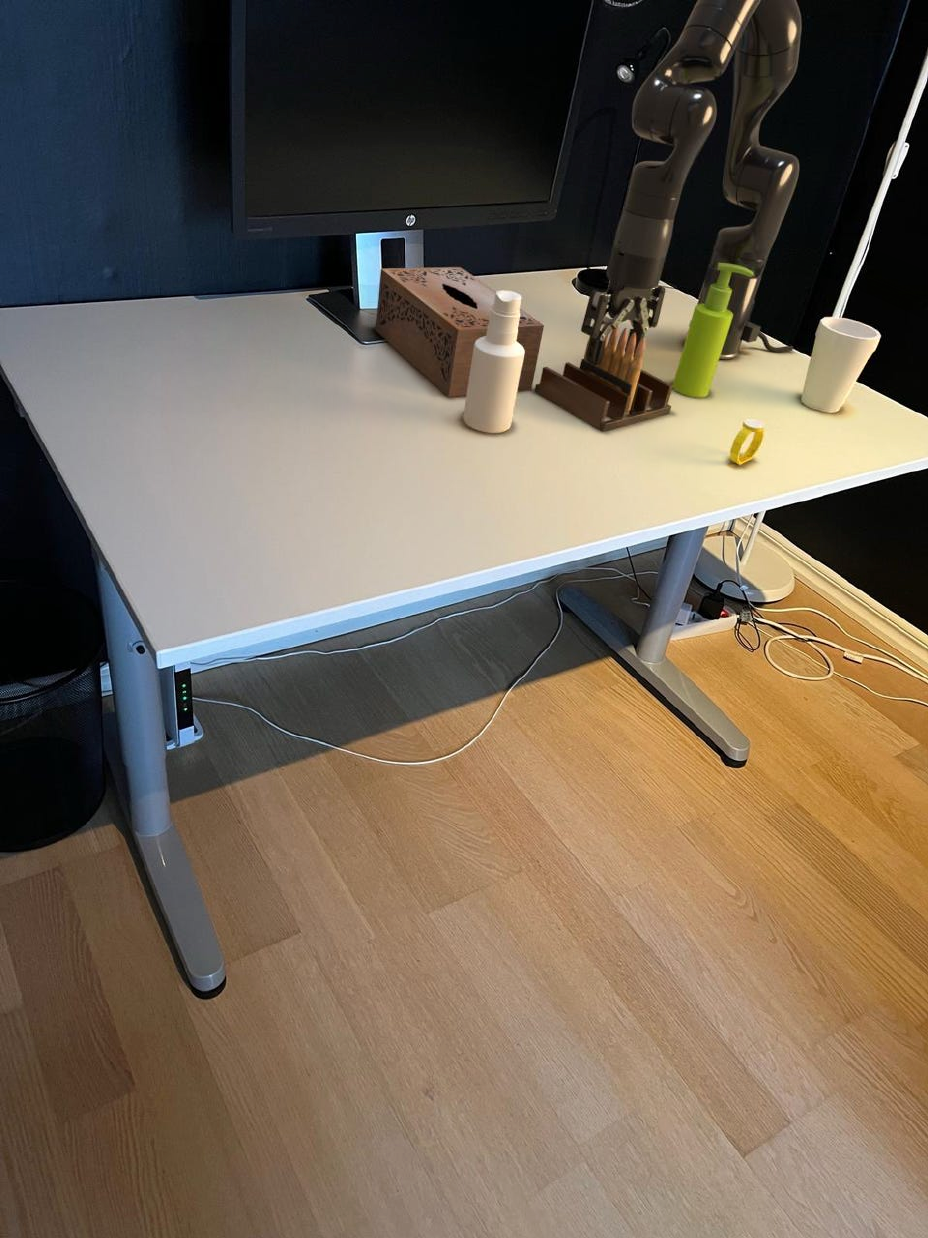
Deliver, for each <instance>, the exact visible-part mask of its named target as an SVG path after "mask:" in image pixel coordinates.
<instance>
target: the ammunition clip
mask: <svg viewBox="0 0 928 1238" xmlns="http://www.w3.org/2000/svg"><path fill="white" fill-rule="evenodd" d="M605 326H606V325H605V324H603V325H602V327H601V329H600V331H602V330H603V328H604V327H605ZM627 329H628V328H626V327H625V328H624V329H623V330H622V331H621V333H620V335H619V326H618V327H617V328H616V329H612V330H611V332H610V333H609V335H608V336H607V337H606V339H605V341H606V343H605V347H604V351H603V355H602V359H601V363H600V364H599V365H593V364H591V363H589V362H588V361H587V358H586V354H587V350H588V345H589V341H590V336H589V338H588V340H587V342H586V346H585V350H584V355H583V358H581V360H580V362H579V368H580V369H582V370H584V371H586V372H588V373H590V374H592V375H593V376H595V377H597V378H599V379H601V380H603V381H604V382H606V383H608V384H610V385H612V386H614V387H616V388H617V389H619V390H621V391H623V392H625V393H627V394H629V395H630V396H631V400H630V404H629V408H628V411H627V415H630V414H633V407H634V403H635V398H636V394H637V390H638V386H639V383H638V379H639V375H640V371H641V370H642V365H643V359H644V353H645V349H646V338H645V336H644V337H642V339H641V340H640V342H639V344H638V346H637V349H636V352H635V355H634V350H635V344H636V333H635V332H634V333H633V334H632V336H631V338H630V340H629V342H628V345H627V348H626V344H627V340H628V330H627ZM618 337H619V339H618ZM625 348H626V351H625ZM633 355H634V357H633Z"/></svg>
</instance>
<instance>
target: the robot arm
mask: <svg viewBox="0 0 928 1238" xmlns="http://www.w3.org/2000/svg"><path fill="white" fill-rule="evenodd" d="M801 37H802V14H801V11H800V7H799V5H798V1H797V0H697V1H696V3H695V5H694V7H693V10H692V11H691V13H690V15H689V17H688V19H687V21H686V24H685V26H684V28H683V29H682V32H681V34H680V36H679V38H678V40H677V41H676V43H675V44H674V46H673V47H672V48H671V49H670V50H669V51H668V53H667V54H666V55H665V57H664V58H663V59H662V60H661V62H659V64H657V66H656V67H655V68H654V70H653V71H652V72H651V73H650V74H649V75H648V77H647V78H646V79H645V81H644V82H643V83H642V85H641V86H640V88H639V89H638V90H637V93H636V95H635V97H634V100H633V103H632V106H631V111H630V123H631V126H632V129H633V131H634V133H635V135H637V136H638V137H640V138H642V139H644V140H649V141H652V142H655V143H660V144H663V145H667V146H671V147H673V148H672V149H673V150H672V152H671V154H670V155H669V156H668V158H666V160H662V161H661V160H659V161H658V160H645V161H640V162H638V163H637V164H635V165H634V167H633V168H632V172H631V175H630V178H629V183H628V187H627V190H626V196H625V199H624V204H623V208H622V211H621V214H620V217H619V219H618V223H617V225H616V230H615V234H614V238H613V242H612V247H611V251H610V255H609V259H608V264H607V268H606V276H607V278H608V281H609V284H608V287H607V289H606V291H605V292H600V291H597V290H595V289H592V291H591V292H590V294H589V298H588V301H587V305H586V309H585V313H584V317H583V320H582V324H581V327H580V332H581V333H583V334H584V335H585V334H586V335H587V336H589V337H590V341H589V345H588V350H587V354H586V358H587V361H588V362H589V363H591V364H593V365H599V364H600V363H601V359H602V355H603V351H604V347H605V343H606V341H605V339H606V337H607V336H608V337H609V336H610V334H611V332H612V329H616V328H617V327H618V328H619V325H620V324H621V323H624V322H626V321H629V322H630V325H631V328H630V329H629V332H628V335H627V341H626V346H625V351H626V348H627V345H628V342H629V340H630V338H631V336H632V334H633V333H634V332H635V333H636V344H635V350H634V355H635V352H636V349H637V346H638V344H639V342H640V340H641V339H642V337H645V335H646V334H647V333H648V332H649V330H650V328H653V329H655V328H656V327H657V326H658V324H659V320H660V316H661V312H662V307H663V304H664V299H665V295H666V287H664V286H662V285H659V283H660V280H661V277H662V273H663V270H664V266H665V262H666V258H667V254H668V251H669V247H670V243H671V239H672V236H673V231H674V229H673V228H674V223H675V222H674V221H675V217H676V213H677V210H678V206H679V203H680V199H681V195H682V191H683V188H684V186H685V184H686V181H687V178H688V176H689V174H690V172H691V170H692V168H693V166H694V164H695V161H696V160H697V158H698V156H699V154H700V152H701V150H702V149H703V148H704V146H705V144H706V142H707V140H708V138H709V136H710V135H711V132H712V131H713V129H714V126H715V124H716V119H717V116H718V115H717V114H718V106H717V105H718V104H717V100H716V98H715V95H714V93H713V92H712V91H710V90H709V89H708V88H705V87H701V86H697V85H693V84H694V83H705V82H710V81H711V82H712V81H716V80H717V79H719V78H720V77H721V76H722V75H723V74H724V73H725V71H726V69H727V67H728V66H729V64H730V62H731V60H732V82H731V83H732V84H731V85H732V86H731V106H730V121H729V129H728V137H727V143H726V144H727V145H726V152H725V160H724V167H723V176H722V190H723V195H724V198H725V199H726V201H728V202H729V203H731V204H733V205H735V206H737V207H741V208H744V209H748V210H751V211H754V212H755V215H754V217H753V219H752V221H751V222H750V223H749V224H745V225H741V226H740V225H739V226H738V225H737V226H727V227H724V228H722V229H720V230H719V231H718V232H717V235H716V237H715V240H714V241H715V242H714V244H713V248H712V251H711V255H710V259H709V262H708V264H707V265H708V266H707V269H706V272H705V276H704V279H703V282H702V285H701V289H700V293H699V296H698V300H697V303H696V305H698V304H705V302H706V298H707V295H708V291H709V288H710V285H712V284H714V283H717V281H718V278H719V274H720V271H721V270H718V263H726V264H734V265H738V266H742V267H745V268H747V269H749V270H751V271H752V272H753V274H754V276H752V277H749V276H746V275H744V274H741V273H736V272H732V274H731V277H730V280H729V283H728V286H729V287H730V288H731V289H732V293H731V296H730V299H729V302H728V305H727V309H728V310H729V311H731V312H732V313H733V317H732V320H731V323H730V327H729V330H728V333H727V336H726V339H725V342H724V345H723V349H722V352H721V355H720V358H719V360H728V359H729V360H730V359H734V358H735V357H736V356H737V355H738V353H739V352H740V348H741V346H742V342H746V343H748V344H750V343H753V342H756V341H757V340H758V338H760V339H761V341H762V344H763V346H764V348H765V349H766V350H767V351H769V352H772V353H784V352H792V351H793V350H794V346H793V345H786V346H780V347H775V346H773V345H771V344H770V342H769V339H768V337H767V336H766V334H764V333H763V332H762V331H761V326H760V325H758V324H755V323H753V322H751V321H750V318H751V315H752V314H753V313H752V312H753V310H754V306H755V303H756V301H755V299H756V295H757V291H758V289H759V286H760V282H761V280H762V276H763V273H764V270H765V267H766V264H767V261H768V259H769V256H770V252H771V249H772V247H773V245H774V243H775V241H776V239H777V236H778V235H779V232H780V229H781V227H782V223H783V221H784V217H785V215H786V212H787V211H788V210H787V209H788V208H789V205H790V202H791V200H792V197H793V194H794V192H795V189H796V187H797V182H798V179H799V175H800V162H799V159H798V158H797V156H795V155H793V154H790V153H787V152H784V151H780V150H778V149H774V148H770V147H767V146H764V145H763V146H762V145H760V142H759V141H760V140H759V133H760V127H761V123H762V121H763V119H764V118H765V116H766V114H767V113H768V111H770V109H771V108H772V106H773V105H774V104H775V103H776V102H777V100H779V98H780V96H781V95H783V93H784V92H785V90H786V89H787V88H788V86H789V84H790V83H791V82H792V80H793V78H794V76H795V74H796V72H797V69H798V63H799V57H800V56H799V55H800V46H801ZM651 311H652V314H651V316H650V312H651ZM607 314H608V316H609V317H608V316H606V315H607ZM592 320H593V324H592ZM591 324H592V325H591ZM604 324H605V325H606V326H605V327H604V328H603V325H604ZM690 324H691V320H690V321H689V325H688V328H689V327H690ZM602 328H603V330H602ZM601 330H602V331H601ZM625 351H624V352H625ZM634 355H633V358H634Z"/></svg>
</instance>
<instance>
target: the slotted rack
mask: <svg viewBox="0 0 928 1238" xmlns="http://www.w3.org/2000/svg"><path fill="white" fill-rule="evenodd" d="M579 367H580V366H579ZM579 367H578V365H577V366H576V365H575V364H573V363H572V362H565V363H564V367H563V371H562V374H560V373H559V372H557V371H556V370H554V369H552V368H551V367H548V366H543V367H542V370H541V376H540V381H539V383H536V384H535V386H534V390H533V391H534V393H536V394H538V395H539V396H541V397H543V398H544V399H546V400H548V401H550V402H551V403H553V404H555V405H557V406H558V407H560V408H562V409H563V410H565V411H567V412H568V413H571V414H572V415H574V416H576V417H577V418H579V419H581V420H582V421H584V422H586V423H588V424H589V425H591V426H592V427H595V428H596V429H598V430H600V431H601V432H607V431H611V430H614V429H618V428H621V427H626V426H630V425H632V424H637V423H640V422H643V421H648V420H650V419H654V418H657V417H661V416H666V415H669V414H670V413H671V410H672V405H670V404H669V400H670V398H671V394H672V390H673V384H670V383H669V382H666V381H665V380H663V379H661V378H658V377H657V376H655V375H653V374H651V373H649V372H647V371H646V370H643V369H641V371H640V375H639V379H638V383H639V386H638V390H637V394H636V398H635V403H634V407H633V412H632V414H630V415H627V411H628V408H629V404H630V400H631V396H630V395H629V394H627V393H625V392H623V391H621V390H619V389H617V388H616V387H614V386H612V385H610V384H608V383H606V382H604V381H603V380H601V379H599V378H597V377H595V376H593V375H592V374H590V373H588V372H586V371H584V370H582V369H580V368H579ZM649 406H650V407H652V408H649ZM606 417H609V418H611V419H608V420H606Z"/></svg>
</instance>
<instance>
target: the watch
mask: <svg viewBox="0 0 928 1238" xmlns="http://www.w3.org/2000/svg"><path fill="white" fill-rule="evenodd" d="M752 433H753V438H752V440H751V442H750V443H749V445H748V448H746V450H745V451H744V453H743V454H740V453H741V450H742V448H743V445H744V444H745V442H746V441H747V438H748V437H749V436H750V435H751V434H752ZM764 437H765V427H764V424H763V422H761V421H760V420H757V419H752V418H747V419H744V420H743V422H742V427H741V429H740V430H739V432H738V433H737V434H736V436H735V437H734V439H733V442H732V443H731V447H730V449H729V460H730V461H731V462H733V463H734V464H736V465H738V466H740V465H743V464H744V463H746V462H748V461H752V459H753V458H754V457H755V455H757V452H758V451H759V449H760V447H761V446H762V443H763V440H764Z"/></svg>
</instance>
